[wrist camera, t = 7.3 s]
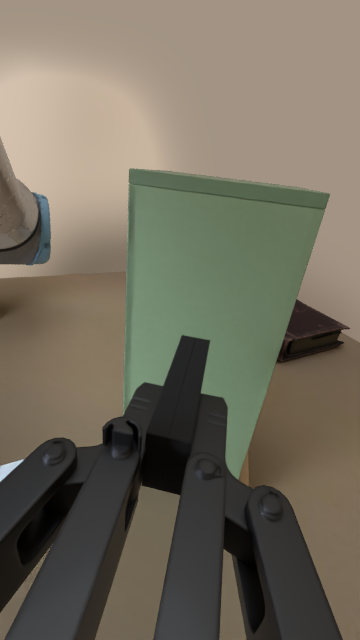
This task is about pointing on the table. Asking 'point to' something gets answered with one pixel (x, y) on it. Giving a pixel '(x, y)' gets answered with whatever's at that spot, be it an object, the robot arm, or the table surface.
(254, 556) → the robot arm
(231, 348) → the tall green pillar
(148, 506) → the table surface
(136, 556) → the table surface
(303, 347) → the diary
